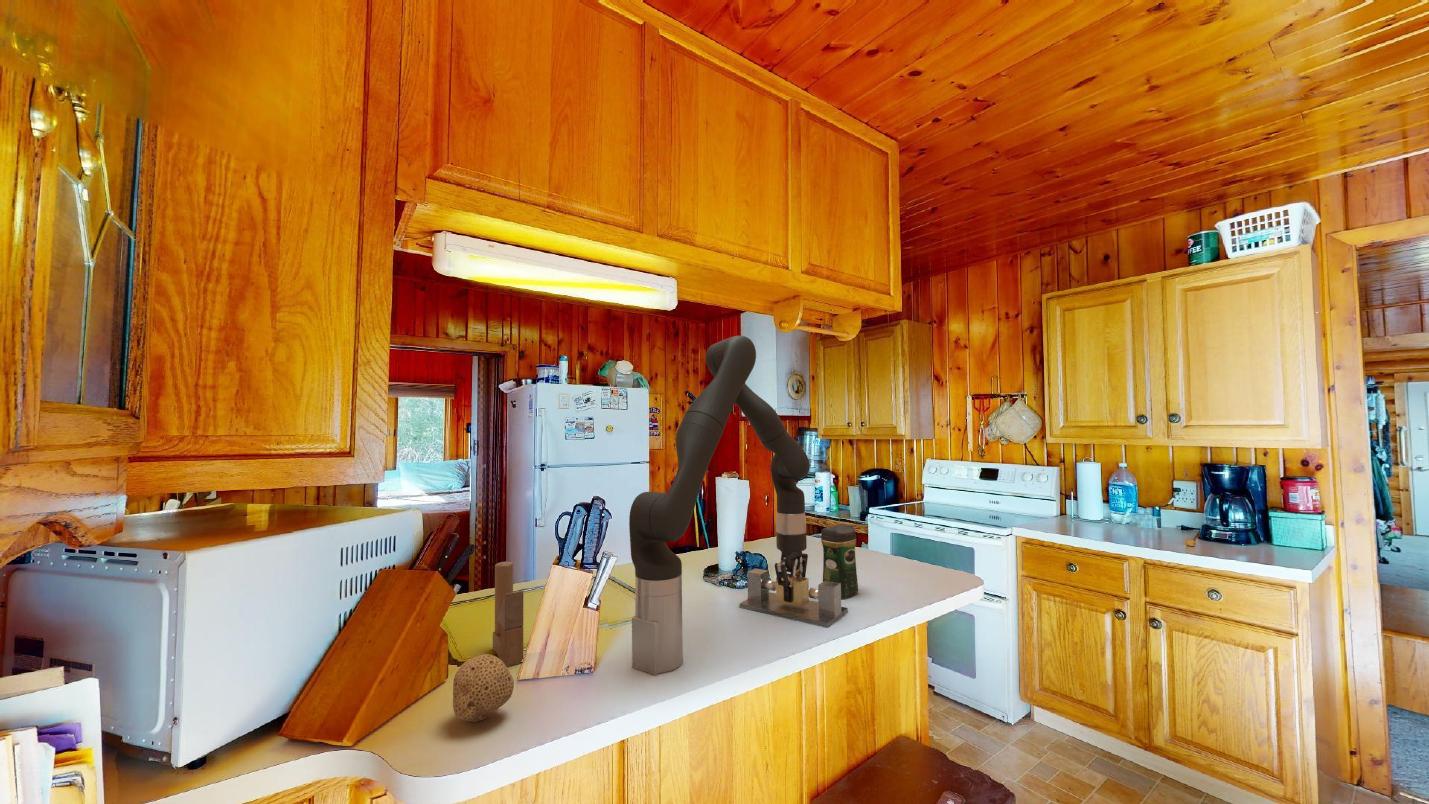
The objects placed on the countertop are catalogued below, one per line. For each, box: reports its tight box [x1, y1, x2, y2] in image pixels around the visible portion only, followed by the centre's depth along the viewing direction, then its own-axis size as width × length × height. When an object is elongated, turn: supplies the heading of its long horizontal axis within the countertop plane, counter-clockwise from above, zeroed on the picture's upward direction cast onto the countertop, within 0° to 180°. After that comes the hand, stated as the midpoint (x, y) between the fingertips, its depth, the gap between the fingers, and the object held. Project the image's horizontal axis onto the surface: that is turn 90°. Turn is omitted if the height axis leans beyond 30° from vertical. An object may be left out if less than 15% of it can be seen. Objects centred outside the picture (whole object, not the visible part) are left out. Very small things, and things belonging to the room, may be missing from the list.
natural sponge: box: [452, 653, 515, 723], centre depth 85 cm, size 9×9×10 cm
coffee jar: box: [820, 523, 859, 599], centre depth 145 cm, size 10×8×19 cm
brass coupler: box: [775, 576, 810, 607], centre depth 133 cm, size 4×7×6 cm, turn 54°
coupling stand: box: [739, 568, 849, 628], centre depth 133 cm, size 12×24×8 cm, turn 54°
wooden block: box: [492, 561, 524, 668], centre depth 109 cm, size 4×11×18 cm, turn 35°
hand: (792, 598), depth 133 cm, fingers closed on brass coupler, 4 cm apart
